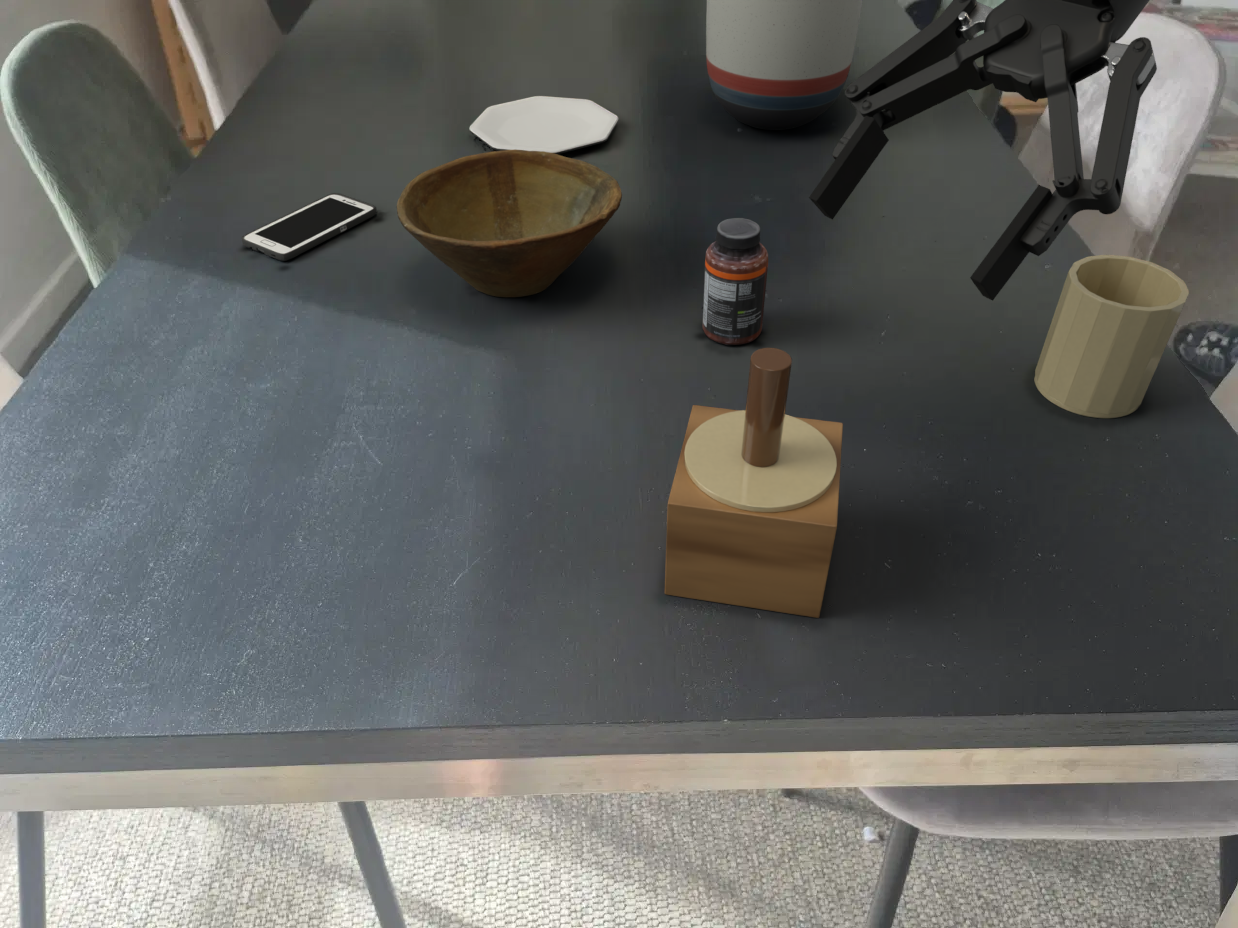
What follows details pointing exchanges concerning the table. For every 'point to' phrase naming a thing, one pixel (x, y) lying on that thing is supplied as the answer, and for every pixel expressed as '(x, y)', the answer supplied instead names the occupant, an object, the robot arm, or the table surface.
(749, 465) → the lid
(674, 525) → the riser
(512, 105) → the plate
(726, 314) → the supplement bottle
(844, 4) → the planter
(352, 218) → the cell phone
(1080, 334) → the jar
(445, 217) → the bowl
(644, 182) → the table surface
